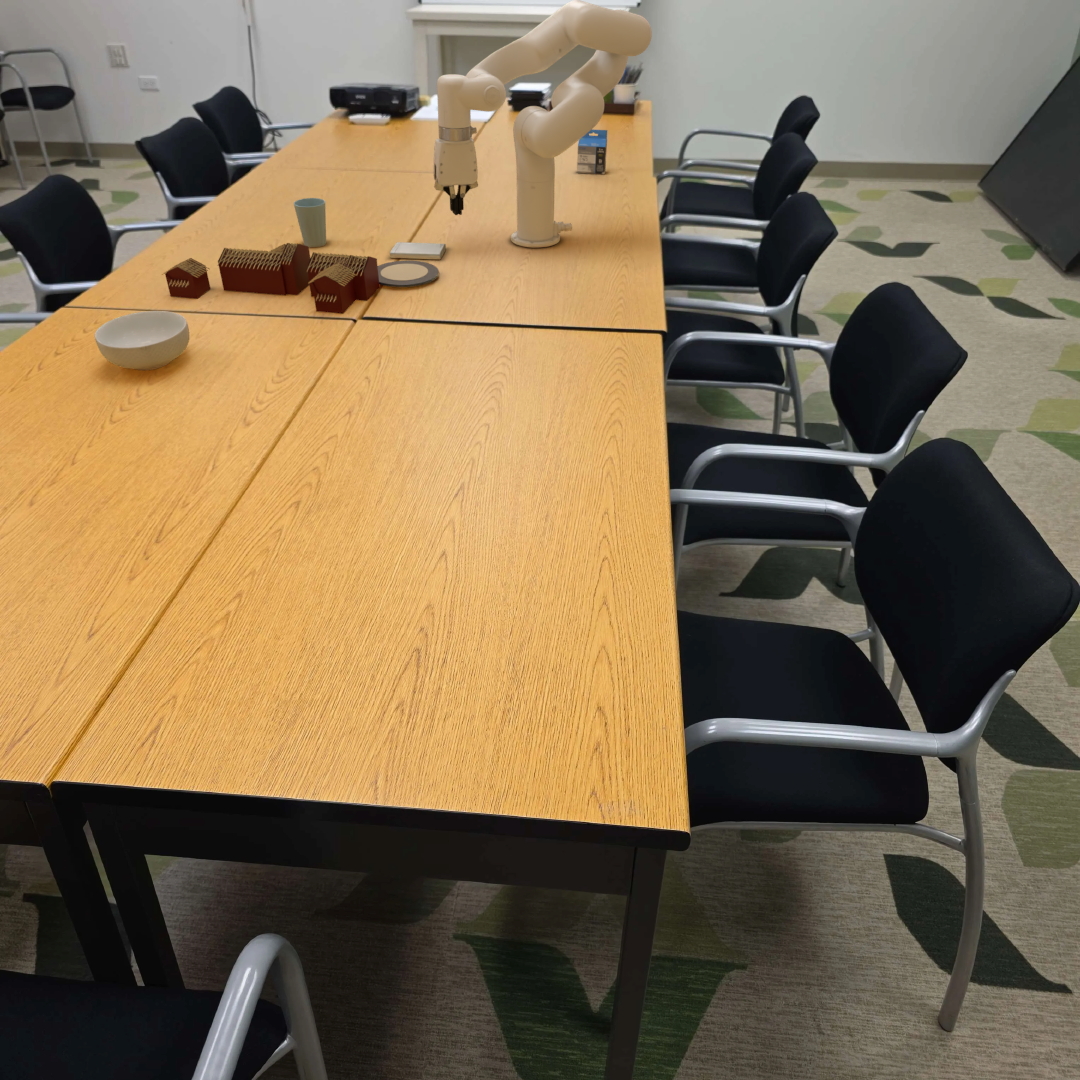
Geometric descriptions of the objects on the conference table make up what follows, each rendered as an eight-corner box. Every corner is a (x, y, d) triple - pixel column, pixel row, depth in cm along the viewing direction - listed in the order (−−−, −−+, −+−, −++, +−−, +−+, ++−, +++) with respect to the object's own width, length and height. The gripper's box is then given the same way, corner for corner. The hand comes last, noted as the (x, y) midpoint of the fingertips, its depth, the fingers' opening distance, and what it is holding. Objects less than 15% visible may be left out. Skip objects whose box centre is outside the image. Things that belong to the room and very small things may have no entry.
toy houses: (383, 283, 211) (379, 239, 205) (351, 317, 195) (345, 271, 189) (204, 269, 219) (194, 226, 213) (158, 301, 202) (147, 255, 196)
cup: (334, 246, 232) (328, 204, 226) (303, 250, 229) (297, 208, 223) (326, 237, 238) (321, 196, 231) (297, 241, 235) (290, 200, 229)
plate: (429, 262, 223) (429, 256, 222) (446, 285, 211) (446, 279, 210) (364, 270, 218) (363, 264, 217) (378, 293, 206) (377, 287, 205)
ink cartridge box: (576, 173, 289) (577, 131, 281) (578, 170, 292) (579, 128, 285) (604, 174, 288) (606, 132, 280) (605, 171, 291) (607, 129, 283)
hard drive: (445, 242, 230) (396, 241, 231) (439, 253, 223) (389, 251, 224) (446, 249, 231) (397, 247, 232) (440, 260, 224) (390, 258, 225)
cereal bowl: (118, 344, 184) (109, 311, 179) (203, 342, 185) (195, 308, 181) (92, 383, 170) (81, 347, 166) (184, 379, 171) (175, 344, 167)
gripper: (480, 128, 220) (481, 206, 230) (419, 131, 215) (423, 211, 226) (490, 135, 214) (490, 215, 225) (427, 139, 210) (431, 220, 220)
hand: (457, 213), depth 225 cm, fingers closed
